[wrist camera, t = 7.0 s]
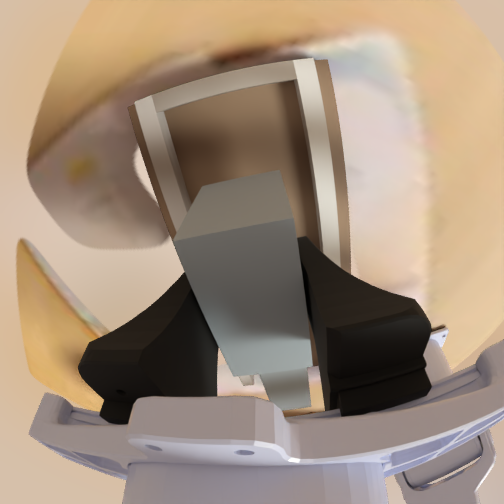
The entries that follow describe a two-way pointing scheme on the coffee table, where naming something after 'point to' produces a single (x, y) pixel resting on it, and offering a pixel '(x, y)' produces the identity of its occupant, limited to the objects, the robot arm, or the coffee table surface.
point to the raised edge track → (254, 160)
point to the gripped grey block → (248, 273)
